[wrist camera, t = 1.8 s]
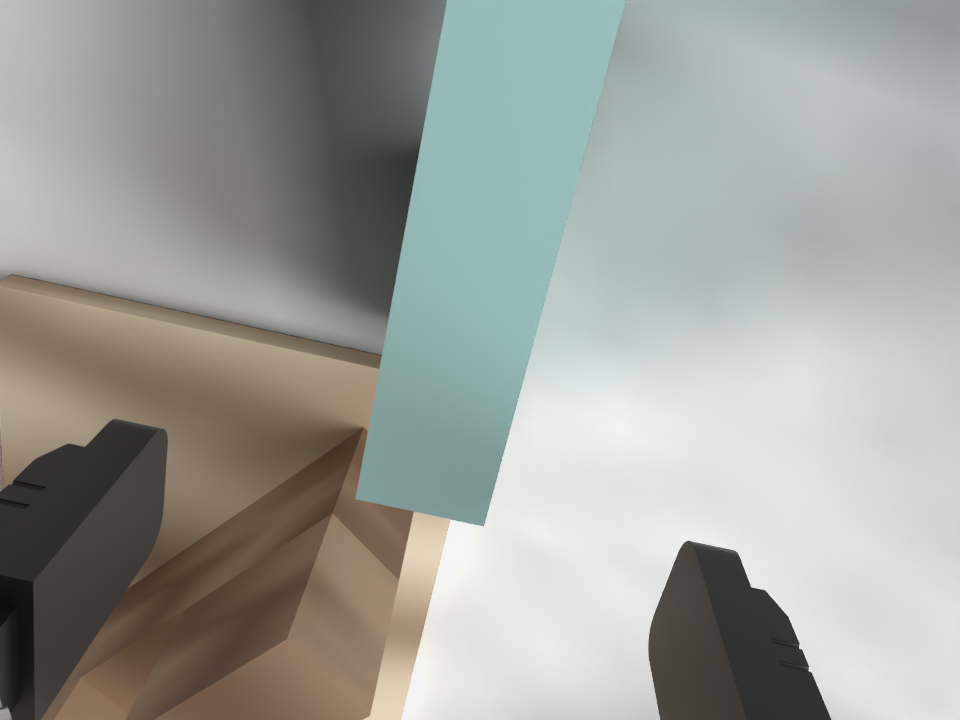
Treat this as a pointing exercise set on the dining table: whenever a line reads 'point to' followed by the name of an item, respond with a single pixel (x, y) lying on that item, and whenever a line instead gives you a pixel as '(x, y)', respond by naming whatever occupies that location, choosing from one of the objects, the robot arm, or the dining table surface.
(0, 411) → the jig
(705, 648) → the robot arm
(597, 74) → the teal plate
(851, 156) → the dining table surface
